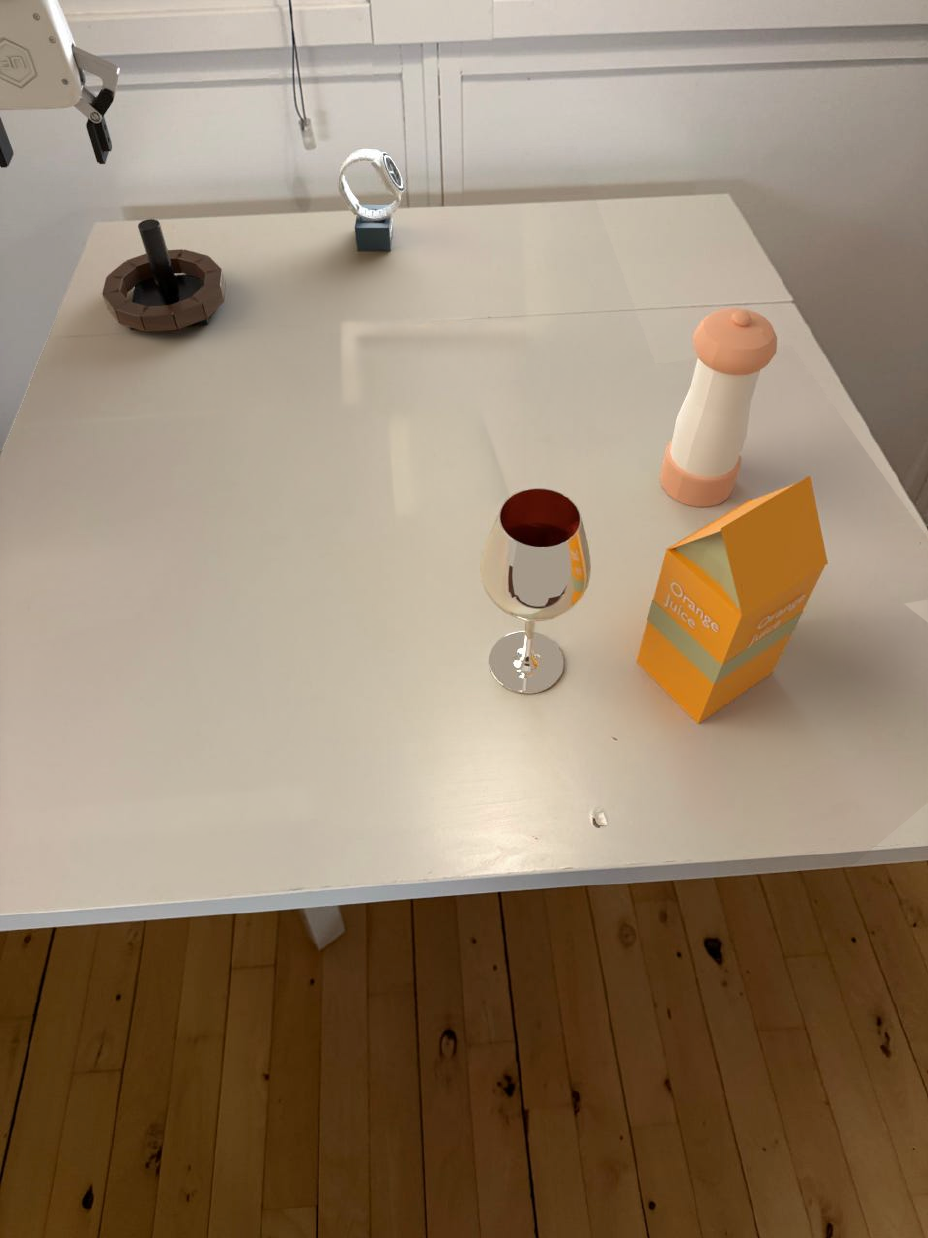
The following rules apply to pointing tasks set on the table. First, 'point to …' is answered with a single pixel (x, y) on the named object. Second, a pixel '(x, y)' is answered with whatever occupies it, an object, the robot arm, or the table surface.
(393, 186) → the watch
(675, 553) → the orange juice
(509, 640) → the wineglass
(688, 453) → the pepper shaker
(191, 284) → the post
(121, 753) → the table surface
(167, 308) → the ring
